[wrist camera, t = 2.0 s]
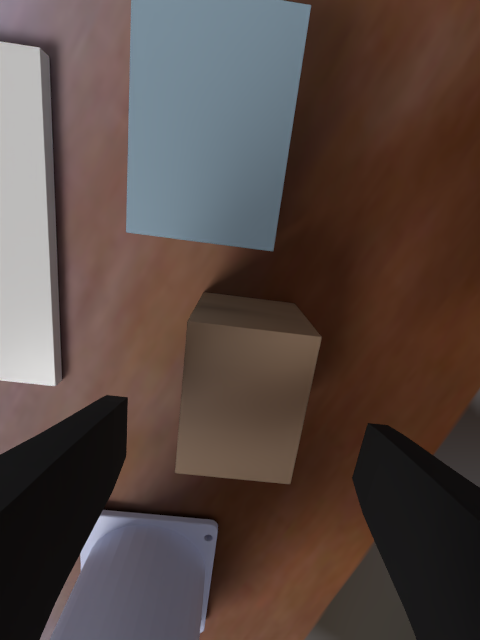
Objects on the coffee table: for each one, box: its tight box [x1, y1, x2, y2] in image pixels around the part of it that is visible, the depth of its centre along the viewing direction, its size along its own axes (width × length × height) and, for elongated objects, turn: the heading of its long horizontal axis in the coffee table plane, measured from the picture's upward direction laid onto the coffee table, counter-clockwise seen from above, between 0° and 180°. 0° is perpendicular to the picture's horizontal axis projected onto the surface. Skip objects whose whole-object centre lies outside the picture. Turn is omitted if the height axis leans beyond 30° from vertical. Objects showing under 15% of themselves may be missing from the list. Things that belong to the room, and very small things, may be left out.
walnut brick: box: [175, 292, 322, 484], centre depth 13 cm, size 6×4×5 cm
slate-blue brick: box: [126, 0, 311, 251], centre depth 11 cm, size 6×4×5 cm
